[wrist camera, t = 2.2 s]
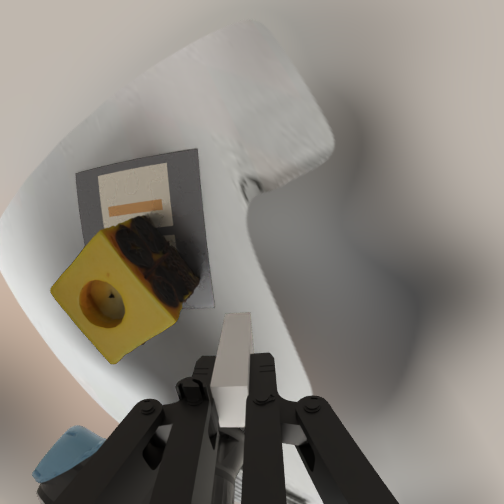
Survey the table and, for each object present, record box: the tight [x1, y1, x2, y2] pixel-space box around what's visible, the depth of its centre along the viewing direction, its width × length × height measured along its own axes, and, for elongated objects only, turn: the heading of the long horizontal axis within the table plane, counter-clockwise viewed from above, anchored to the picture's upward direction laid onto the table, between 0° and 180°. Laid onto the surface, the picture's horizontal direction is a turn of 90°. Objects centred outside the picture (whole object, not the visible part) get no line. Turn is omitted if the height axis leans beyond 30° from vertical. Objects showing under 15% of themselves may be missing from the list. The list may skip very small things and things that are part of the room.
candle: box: [50, 215, 200, 364], centre depth 26 cm, size 10×10×10 cm
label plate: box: [76, 149, 215, 309], centre depth 30 cm, size 18×16×1 cm
